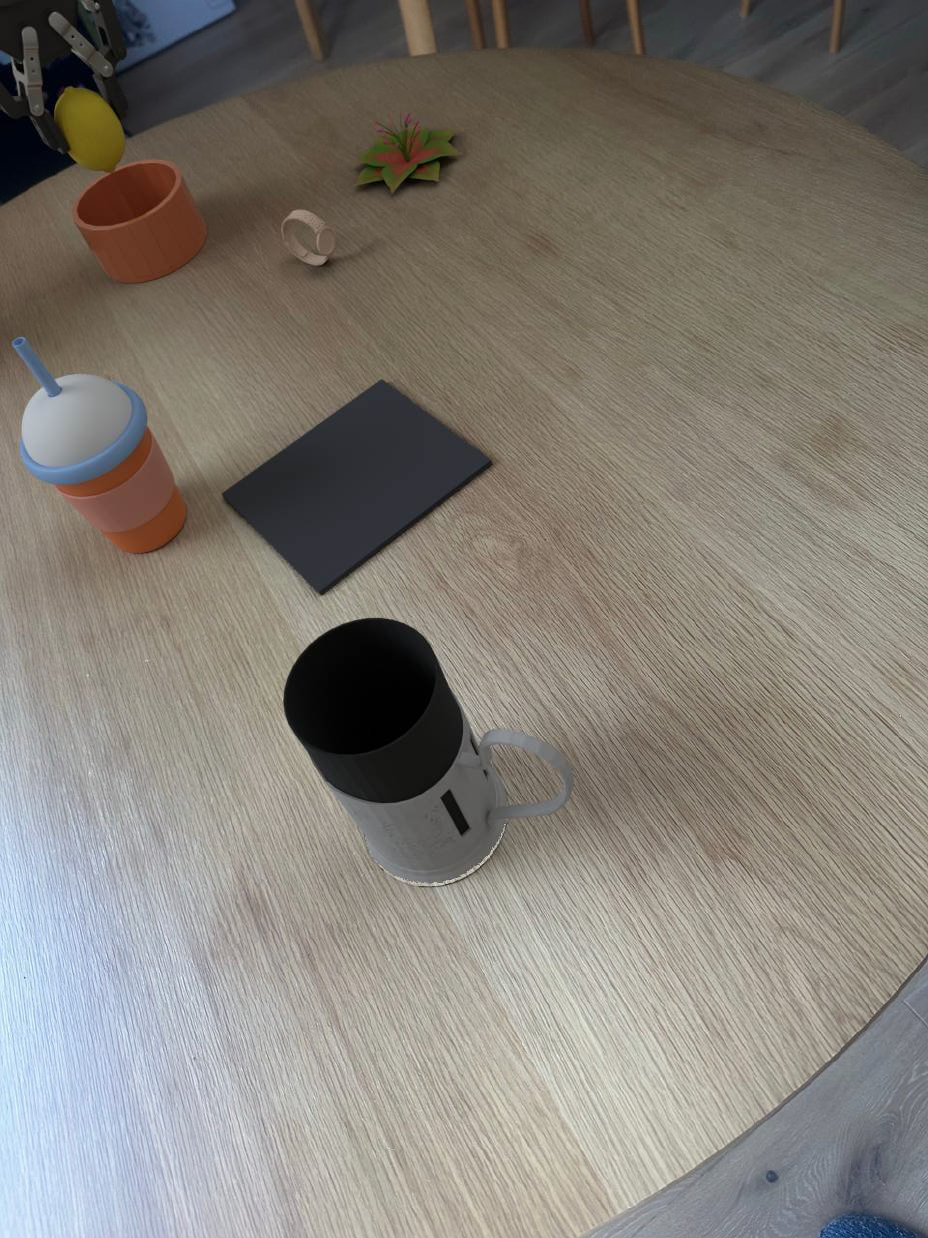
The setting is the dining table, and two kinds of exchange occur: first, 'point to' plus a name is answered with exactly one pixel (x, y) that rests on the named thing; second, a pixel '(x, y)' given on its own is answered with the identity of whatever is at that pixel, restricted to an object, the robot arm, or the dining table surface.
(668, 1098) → the dining table surface
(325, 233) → the wristwatch
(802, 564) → the dining table surface
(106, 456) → the cup with straw
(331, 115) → the dining table surface
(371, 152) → the lily flower
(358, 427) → the mat
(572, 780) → the gray and black mug
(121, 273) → the cup
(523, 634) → the dining table surface
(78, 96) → the lemon
